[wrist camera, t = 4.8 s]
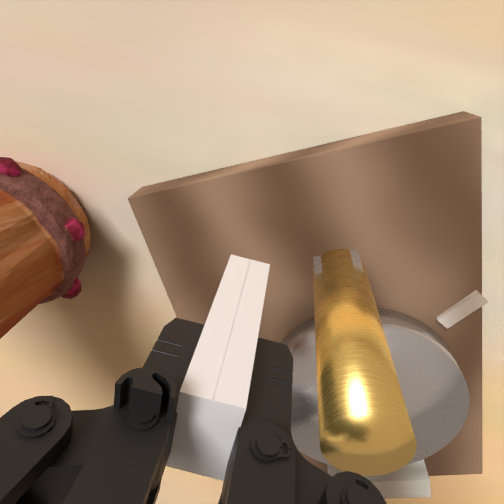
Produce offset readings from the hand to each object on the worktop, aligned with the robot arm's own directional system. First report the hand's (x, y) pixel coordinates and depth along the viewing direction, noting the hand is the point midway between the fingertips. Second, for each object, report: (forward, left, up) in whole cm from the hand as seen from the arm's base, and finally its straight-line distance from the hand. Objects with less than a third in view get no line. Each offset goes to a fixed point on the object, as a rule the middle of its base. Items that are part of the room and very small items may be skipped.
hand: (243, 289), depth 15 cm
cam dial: (+4, -9, -6) cm, 11 cm away
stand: (+2, -9, -8) cm, 12 cm away
